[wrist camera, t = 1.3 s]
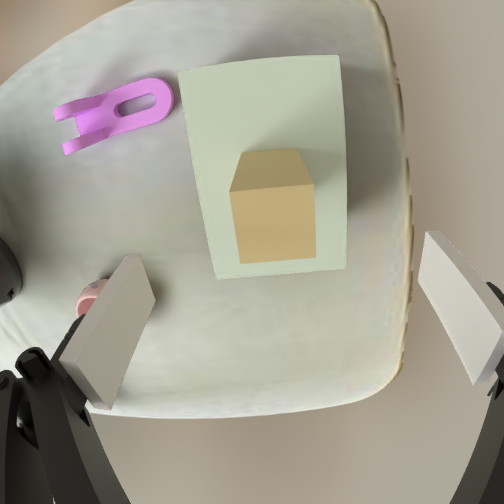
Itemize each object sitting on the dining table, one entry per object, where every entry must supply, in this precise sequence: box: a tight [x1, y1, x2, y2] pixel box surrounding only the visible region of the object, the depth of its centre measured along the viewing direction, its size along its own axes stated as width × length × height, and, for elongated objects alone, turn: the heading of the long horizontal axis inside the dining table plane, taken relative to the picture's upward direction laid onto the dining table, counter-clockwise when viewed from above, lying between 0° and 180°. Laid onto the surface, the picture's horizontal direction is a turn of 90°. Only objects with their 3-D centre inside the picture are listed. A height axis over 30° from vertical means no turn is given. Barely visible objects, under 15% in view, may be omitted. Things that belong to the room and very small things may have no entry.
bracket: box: [53, 78, 174, 155], centre depth 30 cm, size 13×6×7 cm, turn 100°
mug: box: [76, 279, 109, 318], centre depth 44 cm, size 12×10×6 cm
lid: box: [177, 55, 347, 279], centre depth 23 cm, size 13×20×12 cm, turn 7°
